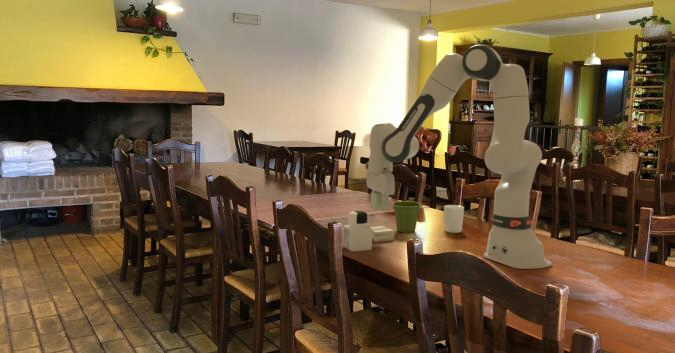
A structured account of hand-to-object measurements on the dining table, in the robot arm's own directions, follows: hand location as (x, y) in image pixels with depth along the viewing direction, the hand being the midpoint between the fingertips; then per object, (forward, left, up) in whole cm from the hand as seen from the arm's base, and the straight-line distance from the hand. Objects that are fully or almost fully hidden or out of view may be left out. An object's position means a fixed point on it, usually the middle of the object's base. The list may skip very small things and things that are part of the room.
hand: (379, 203), depth 201 cm
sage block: (0, 0, -2) cm, 2 cm away
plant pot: (+9, -15, -14) cm, 22 cm away
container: (-12, +13, -14) cm, 22 cm away
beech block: (0, 0, -14) cm, 14 cm away
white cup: (+5, -34, -14) cm, 37 cm away
